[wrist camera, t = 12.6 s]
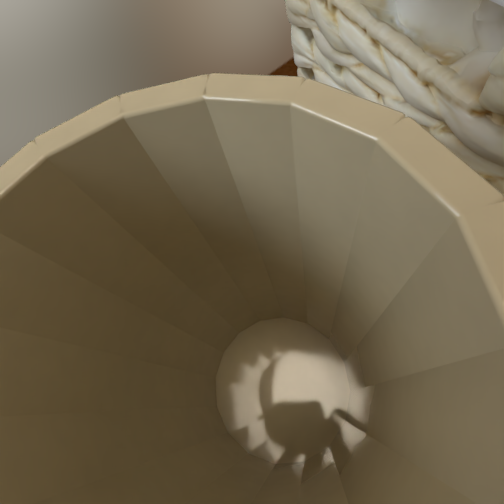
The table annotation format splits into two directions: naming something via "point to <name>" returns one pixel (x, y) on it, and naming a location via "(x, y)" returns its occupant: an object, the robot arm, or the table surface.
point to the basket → (415, 65)
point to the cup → (249, 304)
